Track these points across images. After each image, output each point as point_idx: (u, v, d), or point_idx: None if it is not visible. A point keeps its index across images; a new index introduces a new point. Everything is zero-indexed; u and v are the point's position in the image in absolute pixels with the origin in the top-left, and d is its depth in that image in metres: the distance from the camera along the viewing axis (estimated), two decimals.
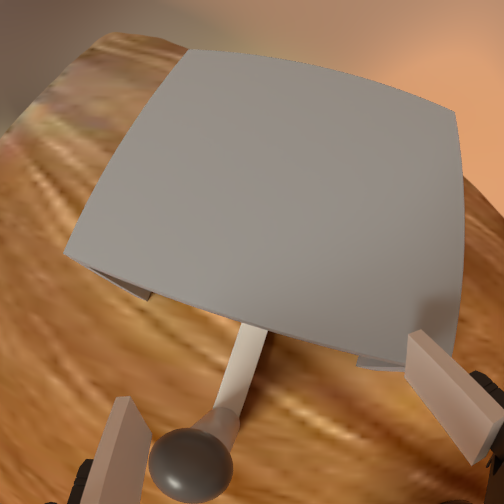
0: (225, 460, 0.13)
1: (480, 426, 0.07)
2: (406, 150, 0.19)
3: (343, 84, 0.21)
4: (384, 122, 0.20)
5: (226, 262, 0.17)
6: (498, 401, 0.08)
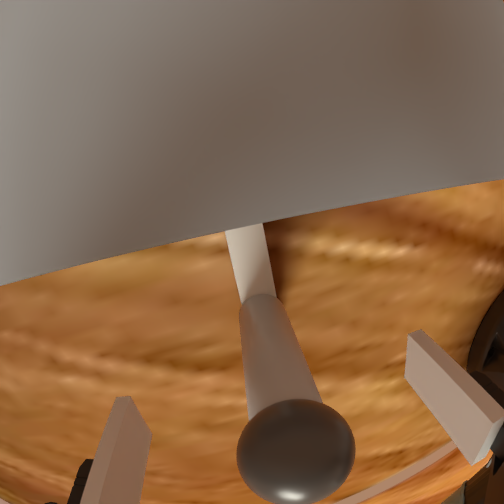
0: (342, 434, 0.09)
1: (480, 426, 0.07)
2: None
3: None
4: None
5: (157, 133, 0.07)
6: (498, 401, 0.08)
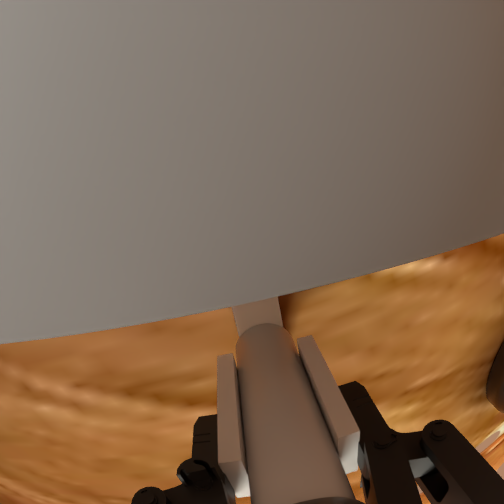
0: None
1: (334, 437, 0.09)
2: None
3: None
4: None
5: (39, 78, 0.02)
6: (366, 416, 0.10)
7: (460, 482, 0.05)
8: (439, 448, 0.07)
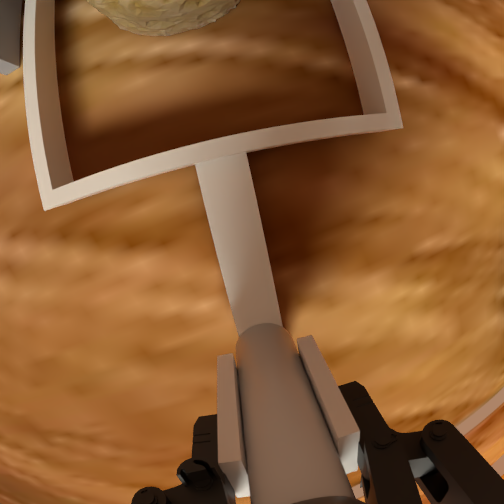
0: None
1: (334, 437, 0.09)
2: None
3: None
4: None
5: None
6: (366, 416, 0.10)
7: (460, 482, 0.05)
8: (439, 448, 0.07)
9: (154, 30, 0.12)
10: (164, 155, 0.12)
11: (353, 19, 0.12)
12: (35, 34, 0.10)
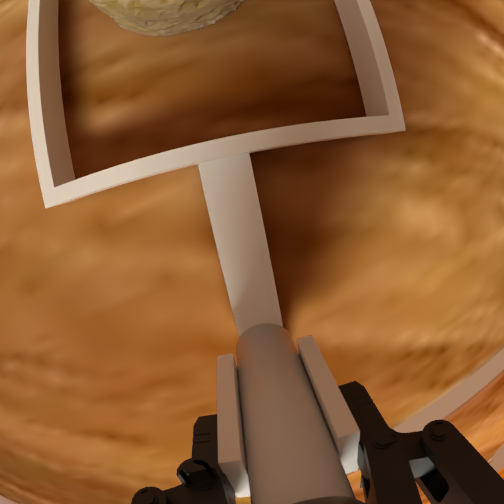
0: None
1: (334, 437, 0.09)
2: None
3: None
4: None
5: None
6: (366, 416, 0.10)
7: (460, 482, 0.05)
8: (439, 448, 0.07)
9: (153, 30, 0.12)
10: (167, 154, 0.12)
11: (357, 21, 0.12)
12: (39, 31, 0.10)
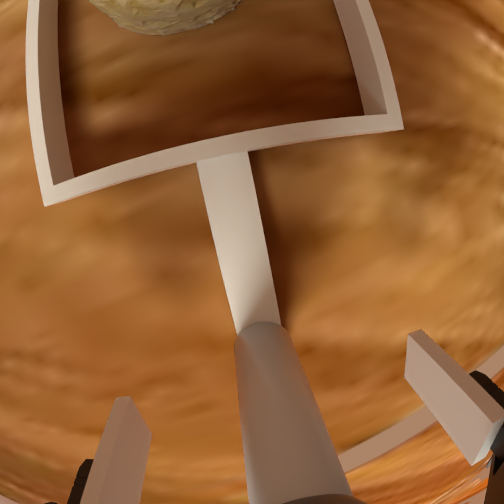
0: None
1: (480, 426, 0.07)
2: None
3: None
4: None
5: None
6: (498, 401, 0.08)
7: None
8: None
9: (152, 30, 0.12)
10: (166, 152, 0.12)
11: (356, 20, 0.12)
12: (38, 30, 0.10)
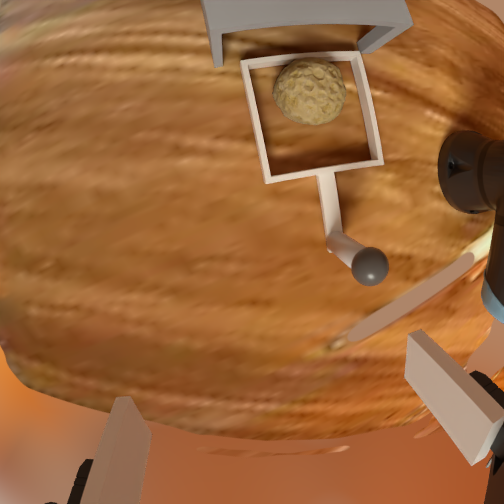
0: (384, 254, 0.32)
1: (480, 426, 0.07)
2: None
3: None
4: None
5: (302, 0, 0.25)
6: (498, 401, 0.08)
7: None
8: None
9: None
10: (312, 170, 0.41)
11: (370, 124, 0.40)
12: (257, 113, 0.38)
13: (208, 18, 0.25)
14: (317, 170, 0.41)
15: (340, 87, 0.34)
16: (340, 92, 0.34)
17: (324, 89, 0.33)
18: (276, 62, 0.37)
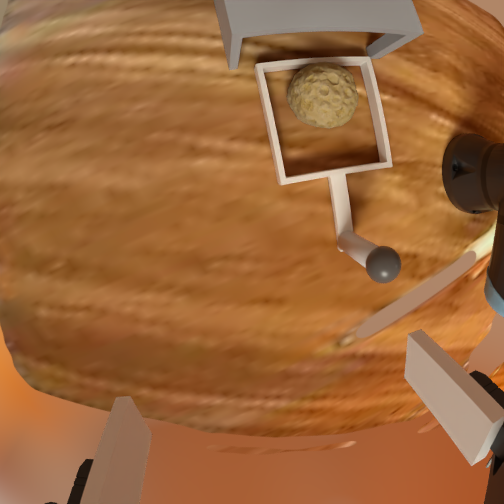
0: (396, 252, 0.34)
1: (480, 426, 0.07)
2: None
3: None
4: None
5: (320, 7, 0.26)
6: (498, 401, 0.08)
7: None
8: None
9: None
10: (325, 172, 0.42)
11: (379, 127, 0.41)
12: None
13: (230, 22, 0.26)
14: (330, 172, 0.42)
15: (353, 92, 0.35)
16: (353, 97, 0.35)
17: (338, 94, 0.34)
18: (290, 66, 0.38)
